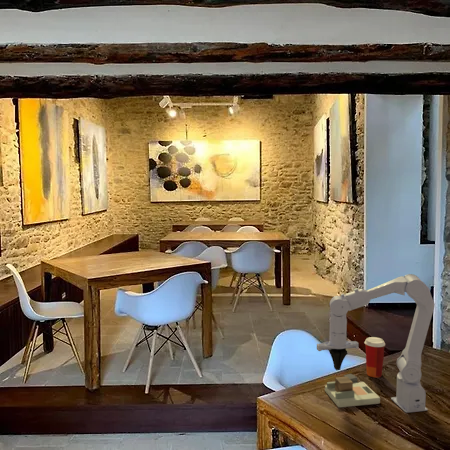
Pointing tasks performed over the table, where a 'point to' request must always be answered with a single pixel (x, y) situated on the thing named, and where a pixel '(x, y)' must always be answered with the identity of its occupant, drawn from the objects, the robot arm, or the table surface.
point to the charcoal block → (351, 377)
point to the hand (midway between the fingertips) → (337, 368)
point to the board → (352, 395)
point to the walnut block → (343, 384)
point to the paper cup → (374, 356)
